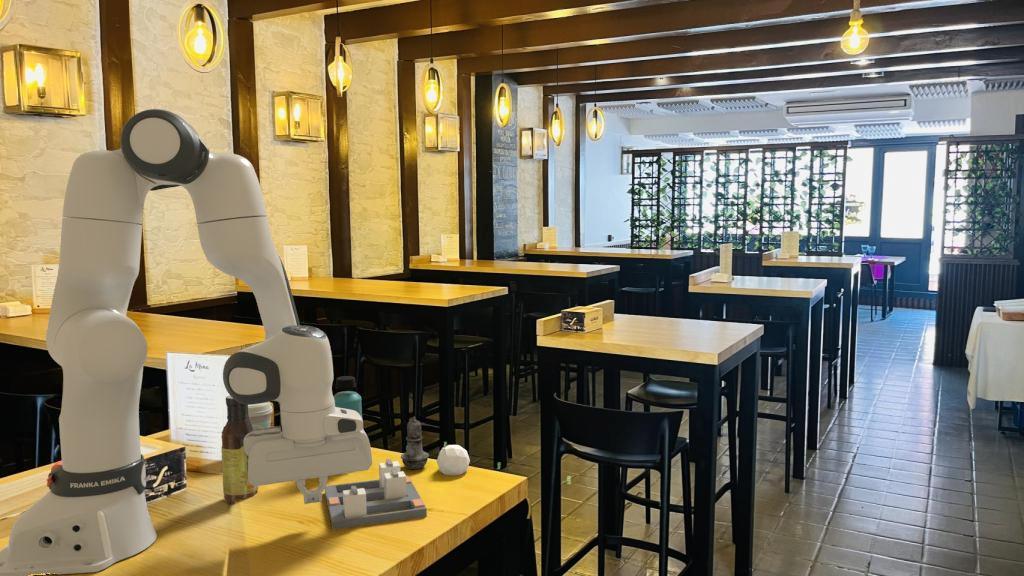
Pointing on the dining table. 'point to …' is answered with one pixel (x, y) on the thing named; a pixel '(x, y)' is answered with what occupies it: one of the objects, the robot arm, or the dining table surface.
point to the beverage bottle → (347, 395)
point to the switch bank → (374, 504)
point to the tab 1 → (354, 502)
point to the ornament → (453, 460)
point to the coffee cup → (260, 415)
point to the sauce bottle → (236, 453)
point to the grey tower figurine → (414, 447)
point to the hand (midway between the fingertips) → (313, 501)
